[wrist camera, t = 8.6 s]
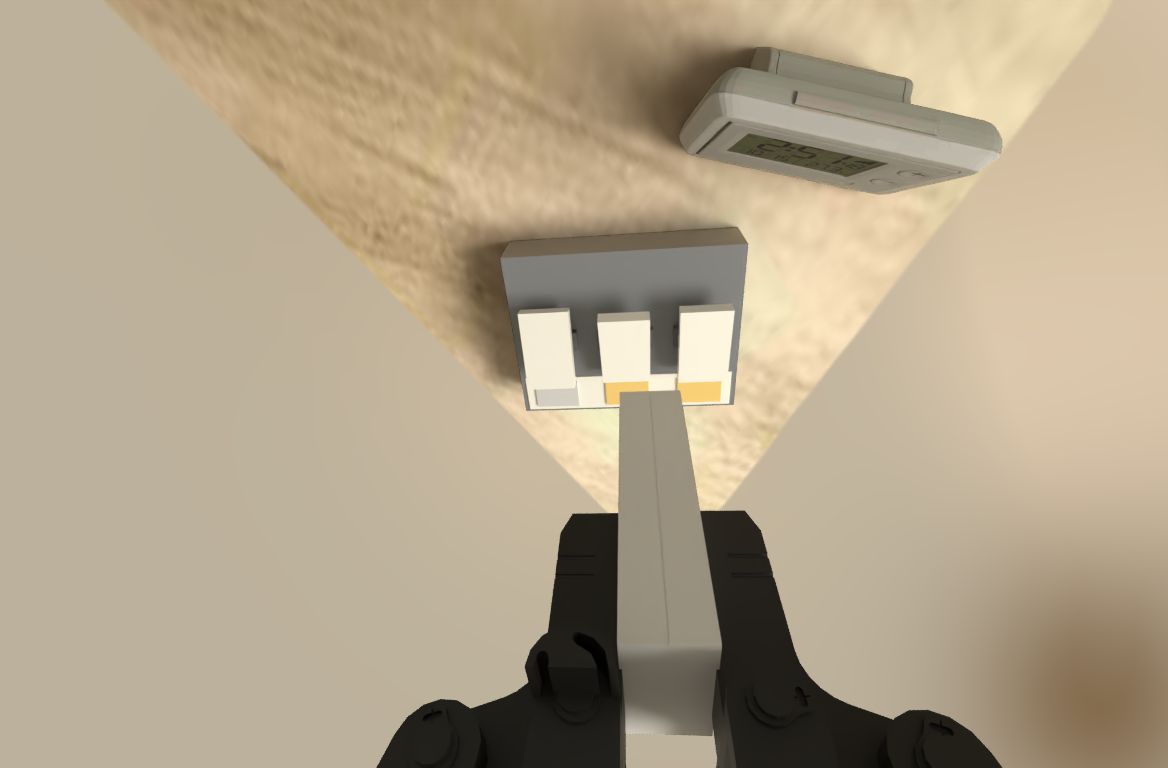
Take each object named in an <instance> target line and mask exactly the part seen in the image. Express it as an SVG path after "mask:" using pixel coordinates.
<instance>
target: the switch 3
mask: <svg viewBox="0 0 1168 768" xmlns="http://www.w3.org/2000/svg"><path fill="white" fill-rule="evenodd" d="M734 313H735V310H734V307H733V304H713V305H692V306H679V335H678V368H677V377H678V383H689V382H719V381H727V379H728V369H729V360H730V350H731V341H732V332H733V322H734Z"/></svg>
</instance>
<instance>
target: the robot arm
mask: <svg viewBox="0 0 1168 768" xmlns="http://www.w3.org/2000/svg"><path fill="white" fill-rule="evenodd" d="M555 575H556V578H555V582H554V589H553V597H552V604H551V613H550V621H549V628H548V633H546V634H544V635H543V636H542V637H541V638H540V639H539V640H538V641H537V643H536V644H535V645H534V646H533V647H532V649H531V650H530V653H529V656H528V659H527V661H526V664H525V670H526V673H527V677H528V683H527V684H526V685H524V686H523V687H522V688H521V689H519V690H518V691H517V692H514V693H512V694H510V695H508V696H506V697H504V698H501V699H498V700H495V701H492V702H489V703H486V704H483V705H480V706H477V707H474V708H471V709H470V708H469V707H467V706H465V705H464V704H462V703H461V702H459V701H457V700H445V699H440V700H437V701H434V702H431V703H428V704H425V705H423V706H421V707H420V708H419V709H417V710H416V711H415V712H413V713H412V714H411V715H410V716H408V717H407V719H406V720H405V721H404V722H403V724H402V725H401V726H400V728H399V729H398V730H397V732H396V733H395V735H394V737H393V738H392V740H391V742H390V744H389V746H388V748H387V749H386V751H385V753H384V755H383V757H382V758H381V760H380V762H379V764H378V766H377V768H626V749H625V748H626V738H625V737H626V733H633V734H634V733H635V734H665V735H669V734H670V735H700V736H712V734H713V730H714V738H715V745H716V753H717V766H716V768H1002V767H1001V765H1000V764H999V763H998V761H997V760H996V759H995V757H994V756H993V755H992V753H991V752H990V751H989V750H988V749H987V748H986V747H985V745H983V743H982V742H981V741H980V740H979V739H978V738H977V737H976V736H975V735H974V734H973V733H972V732H971V731H970V730H968V729H967V728H965V727H964V726H962V725H960V724H959V723H957V722H956V721H954V720H953V719H951V718H950V717H947V716H944V715H941V714H938V713H935V712H932V711H929V710H909V711H907V712H905V713H903V714H901V715H900V716H898V717H896V718H894V720H892V719H889V718H887V717H884V716H881V715H878V714H875V713H872V712H869V711H867V710H864V709H861V708H858V707H855V706H852V705H850V704H847V703H845V702H843V701H841V700H839V699H837V698H834V697H833V696H831V695H830V694H828V693H827V692H826V691H824V690H823V689H821V688H820V687H819V686H818V685H817V684H816V683H815V682H814V681H813V680H812V679H811V678H810V677H809V676H808V674H807V673H806V672H805V670H804V668H803V667H802V666H801V664H800V662H799V660H798V657H797V655H796V652H795V650H794V646H793V643H792V639H791V635H790V632H789V629H788V625H787V621H786V618H785V614H784V611H783V608H782V604H781V601H780V597H779V593H778V590H777V586H776V582H775V579H774V578H773V572H772V568H771V565H770V561H769V559H768V557H767V551H766V547H765V544H764V540H763V537H762V533H761V530H760V529H759V528H758V527H757V525H756V524H755V523H754V521H753V520H752V519H751V518H750V517H749V515H748V514H747V513H746V512H745V511H700V508H699V502H698V496H697V490H696V483H695V477H694V471H693V465H692V459H691V453H690V447H689V441H688V435H687V429H686V423H685V417H684V411H683V404H682V398H681V392H680V390H666V391H636V392H620V406H619V502H618V513H598V514H597V513H596V514H572V516H571V518H570V519H569V521H568V522H567V524H566V525H565V527H564V529H563V530H562V532H561V535H560V543H559V551H558V560H557V566H556V574H555Z"/></svg>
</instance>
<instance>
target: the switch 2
mask: <svg viewBox="0 0 1168 768" xmlns="http://www.w3.org/2000/svg"><path fill="white" fill-rule="evenodd" d="M597 325H598V335H599V345H600V355H601V365H602V376H603V383H615V382H644V381H650V312H649V311H646V312H625V313H603V314H598V317H597Z"/></svg>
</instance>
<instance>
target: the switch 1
mask: <svg viewBox="0 0 1168 768" xmlns="http://www.w3.org/2000/svg"><path fill="white" fill-rule="evenodd" d="M518 321H519V328H520V335H521V343H522V350H523V357H524V364H525V372H526V379H527V386H528V390H539V389H570V388H575V385H576V377H575V366H574V355H573V351H574V345H573V340H572V333H571V322H570V311H569V308H548V309H527V310H520V311H519V313H518Z"/></svg>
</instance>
